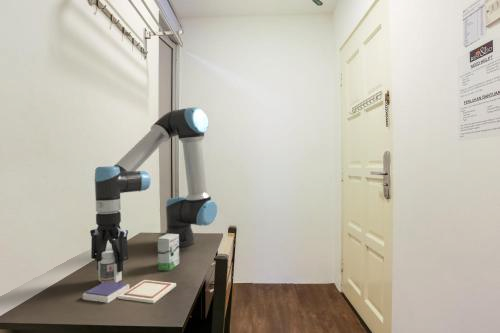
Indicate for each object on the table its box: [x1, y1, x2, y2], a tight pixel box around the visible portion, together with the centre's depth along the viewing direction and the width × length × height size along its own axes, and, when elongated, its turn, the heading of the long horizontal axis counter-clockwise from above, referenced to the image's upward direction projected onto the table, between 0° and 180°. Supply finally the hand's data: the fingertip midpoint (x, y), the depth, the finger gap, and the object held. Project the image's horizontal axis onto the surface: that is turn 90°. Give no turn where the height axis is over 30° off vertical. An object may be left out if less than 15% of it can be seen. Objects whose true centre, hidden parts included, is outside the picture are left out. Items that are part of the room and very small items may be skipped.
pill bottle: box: [100, 249, 116, 284], centre depth 98 cm, size 6×6×10 cm
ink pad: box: [82, 281, 130, 304], centre depth 88 cm, size 9×9×2 cm
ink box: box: [157, 233, 180, 272], centre depth 111 cm, size 9×5×12 cm, turn 168°
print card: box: [117, 279, 177, 304], centre depth 89 cm, size 12×12×1 cm
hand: (110, 280), depth 98 cm, fingers closed on pill bottle, 6 cm apart
